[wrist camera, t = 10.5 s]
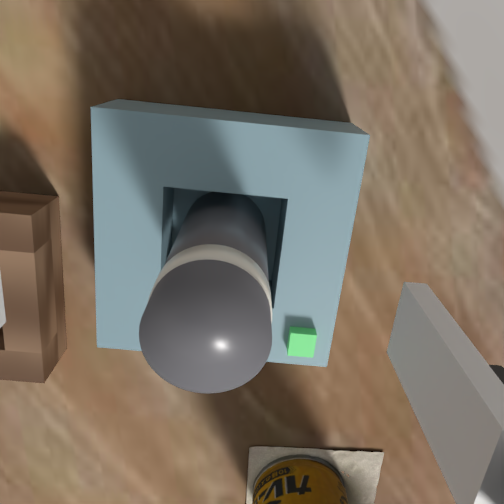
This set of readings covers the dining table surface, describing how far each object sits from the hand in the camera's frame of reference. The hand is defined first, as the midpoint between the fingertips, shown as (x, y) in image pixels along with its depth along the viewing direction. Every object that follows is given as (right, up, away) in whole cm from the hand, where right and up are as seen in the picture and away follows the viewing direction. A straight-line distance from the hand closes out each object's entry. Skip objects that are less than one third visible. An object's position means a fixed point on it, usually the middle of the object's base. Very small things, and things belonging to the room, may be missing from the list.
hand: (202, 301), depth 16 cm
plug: (0, +3, +8) cm, 8 cm away
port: (0, +3, +9) cm, 9 cm away
